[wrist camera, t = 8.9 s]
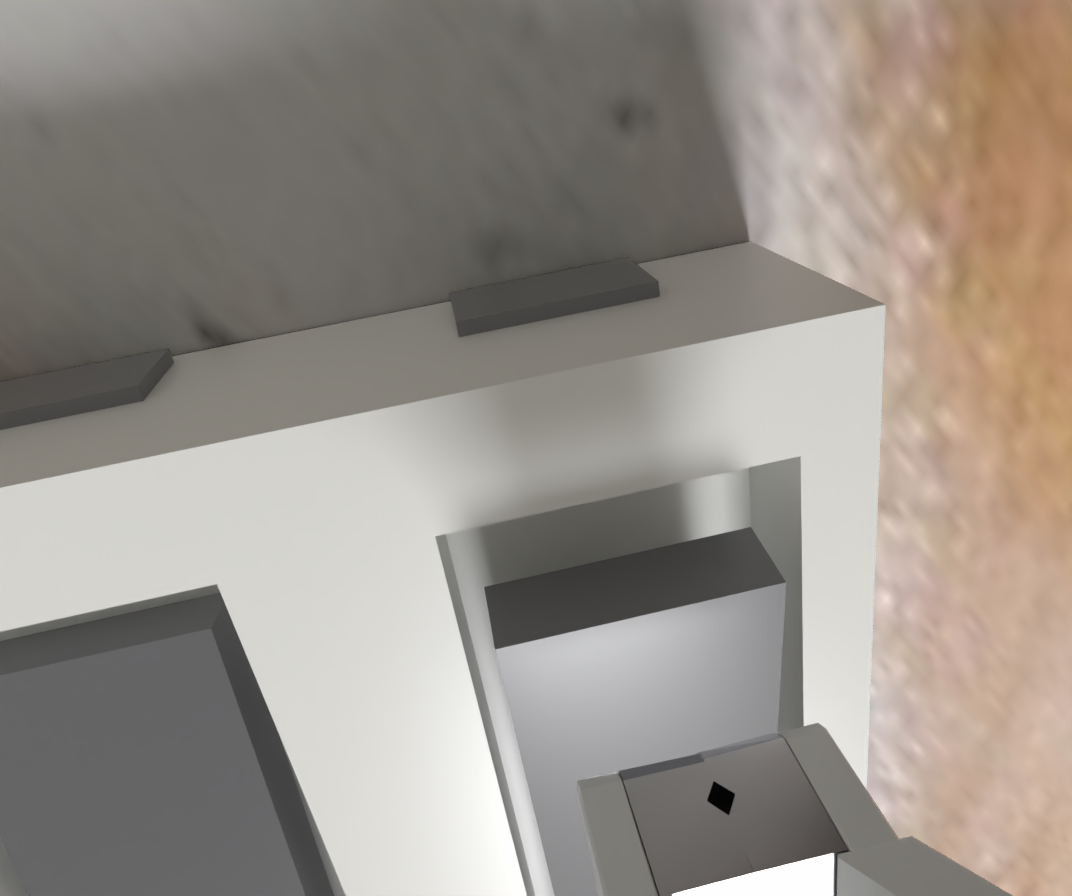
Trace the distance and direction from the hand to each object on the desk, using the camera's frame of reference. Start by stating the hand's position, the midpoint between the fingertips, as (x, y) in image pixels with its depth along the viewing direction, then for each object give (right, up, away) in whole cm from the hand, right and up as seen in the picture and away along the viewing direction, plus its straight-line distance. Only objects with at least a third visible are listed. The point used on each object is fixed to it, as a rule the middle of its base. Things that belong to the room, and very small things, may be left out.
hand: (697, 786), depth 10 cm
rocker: (0, -3, +5) cm, 6 cm away
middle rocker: (-8, -4, +4) cm, 10 cm away
